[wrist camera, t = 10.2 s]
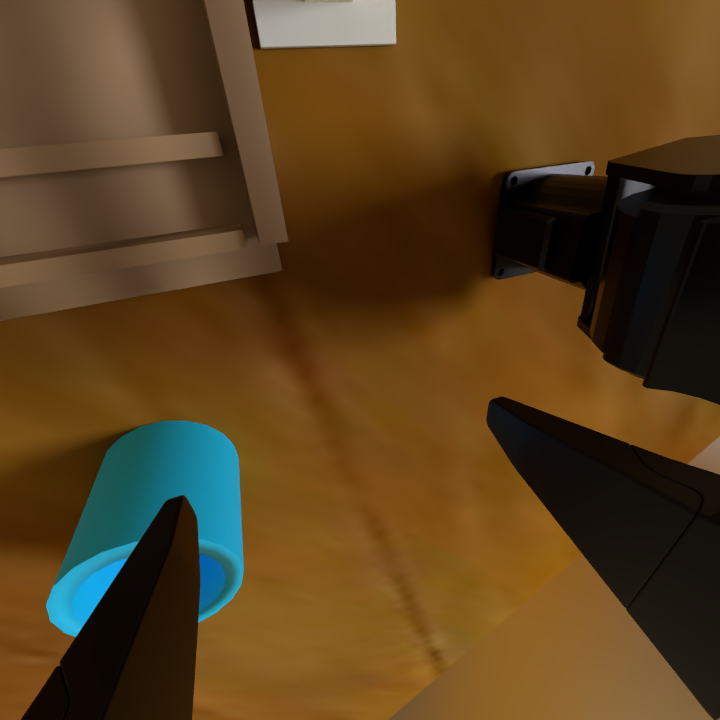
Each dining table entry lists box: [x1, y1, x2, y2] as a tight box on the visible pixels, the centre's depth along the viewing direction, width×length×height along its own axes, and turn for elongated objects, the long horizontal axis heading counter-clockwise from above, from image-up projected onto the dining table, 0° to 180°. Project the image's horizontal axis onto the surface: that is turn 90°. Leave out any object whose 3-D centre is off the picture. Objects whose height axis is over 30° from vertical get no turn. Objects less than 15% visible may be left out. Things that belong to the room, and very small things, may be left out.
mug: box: [46, 421, 244, 637], centre depth 21 cm, size 12×8×8 cm
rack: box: [0, 0, 288, 321], centre depth 11 cm, size 14×18×3 cm
